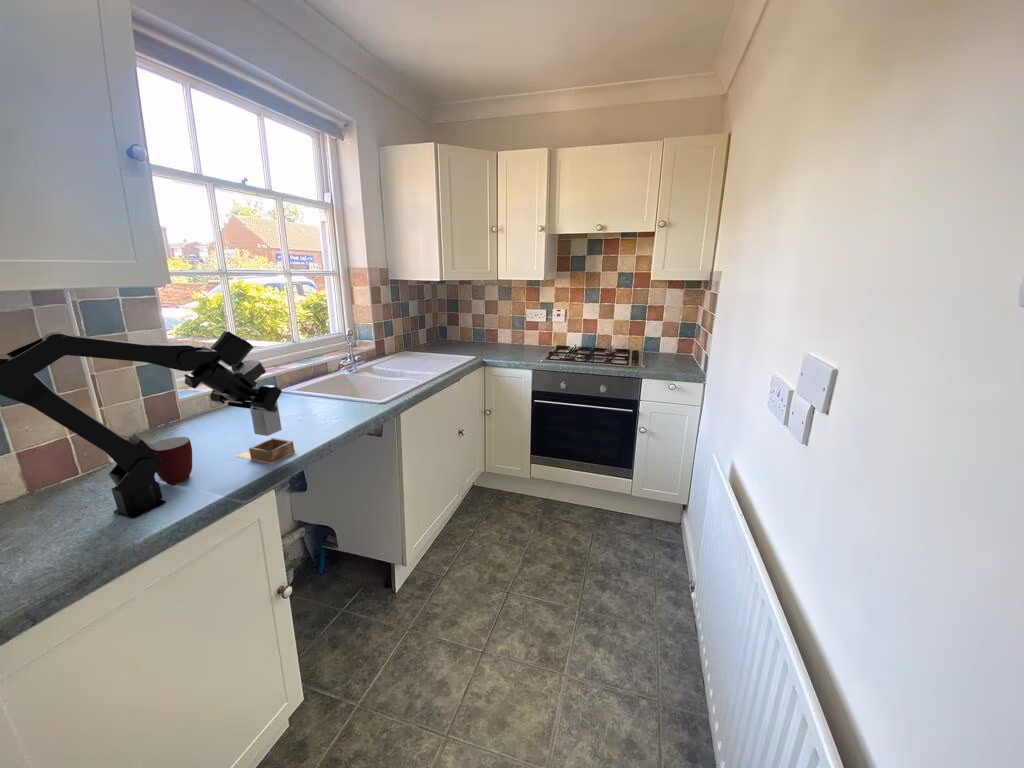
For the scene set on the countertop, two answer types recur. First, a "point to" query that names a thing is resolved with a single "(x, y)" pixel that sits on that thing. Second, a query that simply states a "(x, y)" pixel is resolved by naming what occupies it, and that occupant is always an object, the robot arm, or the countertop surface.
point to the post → (265, 421)
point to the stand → (269, 451)
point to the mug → (174, 459)
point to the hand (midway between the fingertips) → (269, 409)
